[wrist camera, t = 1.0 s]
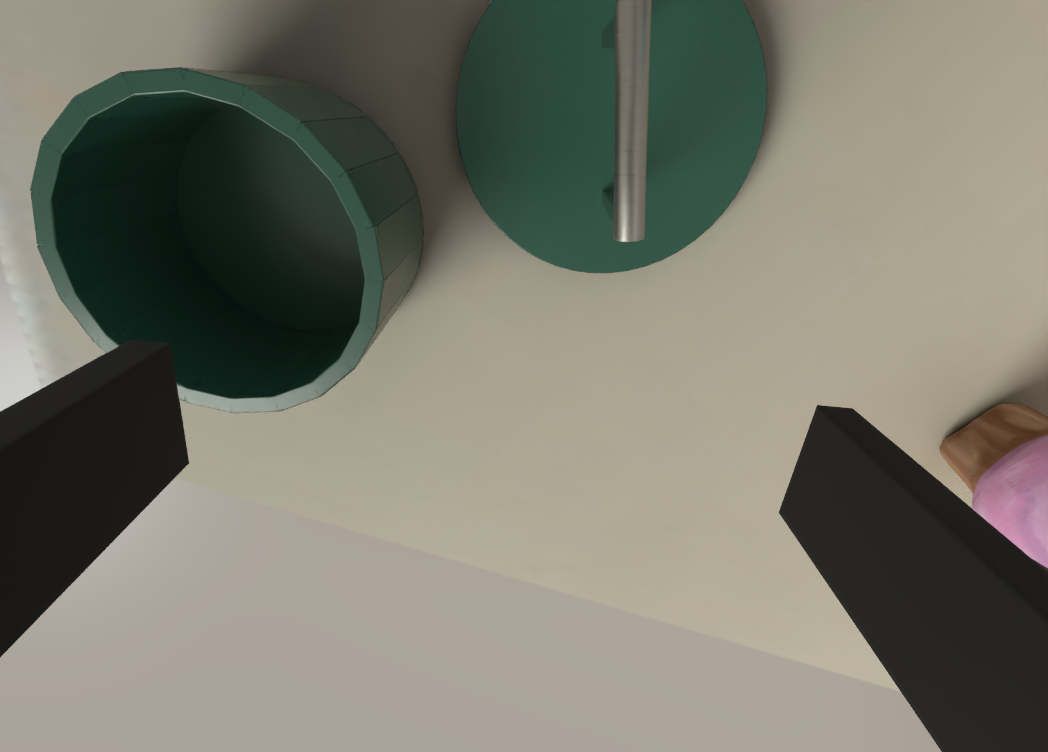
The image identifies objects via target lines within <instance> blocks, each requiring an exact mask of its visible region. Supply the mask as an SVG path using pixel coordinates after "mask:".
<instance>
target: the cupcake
mask: <svg viewBox="0 0 1048 752" xmlns="http://www.w3.org/2000/svg"><path fill="white" fill-rule="evenodd" d="M940 452H941V454H942V456H943V457H944V459H945V460H946V461H947V463H948V464H949V465H950V466H951V468H952V469H953V470H954V471H955V472H956V473H957V474H958V476H959V477H960V478H961V479H962V480H963V481H964V482H965V484H966V485H967V486H968V487H969V488H970V490H971V491H972V493H973V500H972V509H973V510H974V511H975V512H977V513H978V514H979V515H980V516H981V517H983V518H984V519H985V520H986V521H987V522H988V523H990V524H991V525H992V526H993V527H994V528H996V529H997V530H998V531H999V532H1000V533H1002V534H1003V535H1004V536H1005V537H1006V538H1008V539H1009V540H1010V541H1011V542H1012V543H1014V544H1015V545H1016V546H1017V547H1018V548H1020V549H1021V550H1022V551H1023V552H1024V553H1025V554H1027V555H1028V556H1029V557H1030V558H1032V559H1033V560H1035V561H1036V562H1038V563H1040V564H1041V565H1043V566H1045V567H1046V568H1048V417H1046V416H1045V415H1043V414H1041V413H1039V412H1037V411H1036V410H1034V409H1032V408H1029V407H1027V406H1024V405H1022V404H1014V403H1011V404H1000V405H997V406H995V407H993V408H992V409H990V410H988V411H987V412H985V413H984V414H983V415H981V416H980V417H978V418H976V419H975V420H973V421H972V422H971V423H970V424H968V425H967V426H965V427H964V428H962V429H961V430H959V431H957V432H956V433H954V434H952V435H950V436H949V437H947V438H946V439H945V440H944V441H943V442H942V444H941V446H940Z"/></svg>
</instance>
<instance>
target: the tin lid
mask: <svg viewBox="0 0 1048 752" xmlns="http://www.w3.org/2000/svg"><path fill="white" fill-rule="evenodd" d="M766 103H767V80H766V66H765V61H764V56H763V51H762V46H761V42H760V40H759V37H758V34H757V31H756V28H755V25H754V22H753V20H752V18H751V16H750V14H749V12H748V10H747V8H746V6H745V4H744V2H743V1H742V0H493V1H492V2H491V4H490V5H489V7H488V8H487V10H486V12H485V13H484V15H483V16H482V18H481V20H480V21H479V23H478V25H477V27H476V29H475V31H474V34H473V36H472V38H471V40H470V42H469V45H468V48H467V51H466V54H465V57H464V60H463V63H462V67H461V72H460V77H459V82H458V87H457V98H456V132H457V139H458V145H459V151H460V156H461V159H462V162H463V166H464V169H465V173H466V175H467V178H468V180H469V182H470V185H471V187H472V189H473V192H474V194H475V195H476V197H477V199H478V201H479V202H480V204H481V206H482V207H483V209H484V211H485V212H486V213H487V214H488V216H489V217H490V218H491V220H492V221H493V222H494V224H495V225H496V226H497V227H498V228H499V229H500V230H501V231H502V232H503V233H504V234H505V235H506V236H507V237H508V238H509V239H510V240H512V241H513V242H514V243H516V244H517V245H518V246H519V247H521V248H522V249H523V250H525V251H527V252H528V253H530V254H532V255H533V256H535V257H537V258H539V259H541V260H543V261H546V262H548V263H550V264H553V265H555V266H558V267H562V268H566V269H569V270H573V271H580V272H587V273H614V272H623V271H629V270H633V269H637V268H641V267H645V266H648V265H650V264H653V263H656V262H658V261H661V260H663V259H665V258H667V257H669V256H671V255H673V254H675V253H676V252H678V251H680V250H681V249H683V248H684V247H686V246H687V245H689V244H690V243H692V242H693V241H695V240H696V239H697V238H698V237H699V236H701V235H702V234H703V233H704V232H705V231H706V230H707V229H709V228H710V227H711V226H712V225H713V224H714V222H715V221H716V220H717V219H718V218H719V217H720V216H721V215H722V214H723V213H724V211H725V210H726V209H727V207H728V206H729V205H730V203H731V202H732V200H733V199H734V198H735V196H736V195H737V193H738V192H739V190H740V188H741V186H742V184H743V183H744V181H745V179H746V177H747V175H748V173H749V171H750V168H751V166H752V164H753V161H754V159H755V157H756V154H757V150H758V147H759V143H760V140H761V137H762V133H763V127H764V121H765V115H766Z"/></svg>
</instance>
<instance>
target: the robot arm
mask: <svg viewBox="0 0 1048 752" xmlns="http://www.w3.org/2000/svg"><path fill="white" fill-rule="evenodd" d="M188 464H189V461H188V454H187V447H186V441H185V434H184V428H183V421H182V415H181V408H180V402H179V395H178V389H177V382H176V376H175V369H174V363H173V356H172V349H171V344H168V343H157V342H146V341H136V340H129V341H127V342H126V343H124V344H122V345H120V346H118V347H117V348H115V349H113V350H111V351H109V352H108V353H106V354H104V355H102V356H100V357H98V358H97V359H95V360H93V361H91V362H89V363H88V364H86V365H84V366H82V367H80V368H79V369H77V370H75V371H73V372H71V373H70V374H68V375H66V376H64V377H62V378H61V379H59V380H57V381H55V382H53V383H51V384H50V385H48V386H46V387H44V388H42V389H41V390H39V391H37V392H35V393H33V394H32V395H30V396H28V397H26V398H24V399H23V400H21V401H19V402H17V403H16V404H14V405H12V406H10V407H8V408H6V409H4V410H3V411H1V412H0V657H1V656H2V655H3V654H4V653H5V652H6V651H7V650H8V648H10V647H11V646H12V645H13V644H14V643H15V641H16V640H17V639H18V638H19V637H20V636H21V635H22V634H23V633H24V632H25V631H26V630H27V629H28V628H29V627H30V626H31V625H32V624H33V623H34V622H35V621H36V620H37V619H38V618H39V617H40V616H41V615H42V614H43V613H44V612H45V611H46V610H47V609H48V608H49V606H50V605H51V604H52V603H53V602H54V601H55V600H56V599H57V598H58V597H59V596H60V595H61V594H62V593H63V592H64V591H65V590H66V589H67V588H68V587H69V586H70V585H71V584H72V583H73V582H74V581H75V580H76V579H77V578H78V577H79V576H80V575H81V573H83V572H84V571H85V569H86V568H87V567H88V566H89V565H90V564H91V563H92V562H93V561H94V560H95V559H96V558H97V557H98V556H99V555H100V554H101V553H102V552H103V551H104V550H105V549H106V547H108V546H109V545H110V543H112V542H113V541H114V540H115V538H117V536H118V535H120V533H121V532H122V531H123V530H124V529H125V528H126V527H127V526H128V525H129V524H130V523H131V522H132V521H133V520H134V519H135V518H136V517H137V516H138V515H139V514H140V513H141V512H142V511H143V510H144V509H145V508H146V507H147V506H148V505H149V503H151V502H152V501H153V499H154V498H155V497H156V496H157V495H158V494H159V493H160V492H161V491H162V490H163V489H164V488H165V487H166V486H167V485H168V484H169V483H170V482H171V481H172V480H173V479H174V478H175V477H176V476H177V475H178V474H179V473H180V472H181V471H182V470H183V469H184V468H185V467H186V466H187V465H188ZM779 513H780V515H781V516H782V518H783V519H784V521H785V522H786V524H787V525H788V527H789V528H790V529H791V531H792V532H793V534H794V535H795V537H796V538H797V540H798V541H799V543H800V544H801V546H802V547H803V549H804V550H805V551H806V553H807V554H808V556H809V557H810V559H811V560H812V562H813V563H814V565H815V566H816V568H817V569H818V571H819V572H820V574H821V575H822V576H823V578H824V579H825V581H826V582H827V584H828V585H829V587H830V588H831V590H832V591H833V593H834V594H835V596H836V597H837V598H838V600H839V601H840V603H841V604H842V606H843V607H844V609H845V610H846V612H847V613H848V615H849V616H850V618H851V619H852V620H853V622H854V623H855V625H856V626H857V628H858V629H859V631H860V632H861V634H862V635H863V637H864V638H865V640H866V641H867V642H868V644H869V645H870V647H871V648H872V650H873V651H874V653H875V654H876V656H877V657H878V659H879V660H880V662H881V663H882V664H883V666H884V667H885V669H886V670H887V672H888V673H889V675H890V676H891V678H892V679H893V681H894V682H895V684H896V685H897V686H898V688H899V689H900V691H901V692H902V694H903V695H904V697H905V698H906V700H907V701H908V702H909V704H910V705H911V707H912V708H913V710H914V711H915V713H916V714H917V716H918V717H919V718H920V720H921V721H922V723H923V724H924V726H925V728H926V729H927V730H928V732H929V733H930V735H931V736H932V738H933V739H934V741H935V742H936V744H937V745H938V747H939V748H940V750H941V751H942V752H1048V568H1046V567H1045V566H1043V565H1041V564H1040V563H1038V562H1036V561H1035V560H1033V559H1032V558H1030V557H1029V556H1028V555H1027V554H1025V553H1024V552H1023V551H1022V550H1021V549H1020V548H1018V547H1017V546H1016V545H1015V544H1014V543H1012V542H1011V541H1010V540H1009V539H1008V538H1006V537H1005V536H1004V535H1003V534H1002V533H1000V532H999V531H998V530H997V529H996V528H994V527H993V526H992V525H991V524H990V523H988V522H987V521H986V520H985V519H984V518H983V517H981V516H980V515H979V514H978V513H977V512H975V511H974V510H973V509H972V508H971V507H969V506H968V505H967V504H966V503H965V502H963V501H962V500H961V499H960V498H959V497H957V496H956V495H955V494H954V493H953V492H951V491H950V490H949V489H948V488H947V487H946V486H944V485H943V484H942V483H941V482H940V481H938V480H937V479H936V478H935V477H934V476H932V475H931V474H930V473H929V472H928V471H926V470H925V469H924V468H923V467H922V466H920V465H919V464H918V463H917V462H916V461H914V460H913V459H912V458H911V457H910V456H909V455H907V454H906V453H905V452H904V451H903V450H901V449H900V448H899V447H898V446H897V445H895V444H894V443H893V442H892V441H891V440H889V439H888V438H887V437H886V436H885V435H883V434H882V433H881V432H880V431H879V430H877V429H876V428H875V427H874V426H873V425H871V424H870V423H869V422H868V421H867V420H866V419H864V418H863V417H862V416H861V415H860V414H858V413H857V412H856V411H855V410H854V409H851V408H841V407H830V406H820V405H817V407H816V410H815V413H814V416H813V419H812V421H811V424H810V427H809V430H808V433H807V435H806V438H805V441H804V444H803V447H802V449H801V452H800V455H799V458H798V461H797V463H796V466H795V469H794V472H793V474H792V477H791V480H790V483H789V486H788V488H787V491H786V494H785V497H784V500H783V502H782V505H781V508H780V511H779Z"/></svg>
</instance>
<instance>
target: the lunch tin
mask: <svg viewBox="0 0 1048 752" xmlns="http://www.w3.org/2000/svg"><path fill="white" fill-rule="evenodd" d="M30 191H31V199H32V207H33V215H34V223H35V231H36V238H37V244H38V246H37V247H38V250H39V252H40V254H41V257H42V259H43V261H44V263H45V266H46V268H47V270H48V273H49V275H50V277H51V279H52V282H53V284H54V286H55V289H56V291H57V293H58V295H59V297H60V299H61V300H62V302H63V303H64V304H65V305H66V307H67V308H68V309H69V311H70V312H71V313H72V314H73V316H74V317H75V318H76V320H77V321H78V322H79V323H80V325H81V326H82V327H83V329H84V330H85V331H86V333H87V334H88V335H89V336H90V338H91V339H92V340H93V342H96V344H97V345H98V346H99V347H100V348H102V349H103V350H104V351H105V352H106V353H108V352H109V351H111V350H113V349H115V348H117V347H118V346H120V345H122V344H124V343H126V342H127V341H129V340H136V341H146V342H157V343H168V344H171V349H172V356H173V363H174V369H175V376H176V382H177V389H178V395H179V399H181V400H183V401H185V402H188V403H192V404H196V405H201V406H205V407H209V408H214V409H218V410H222V411H227V412H231V413H248V412H273V411H282V410H285V409H288V408H291V407H293V406H296V405H299V404H302V403H304V402H307V401H310V400H313V399H315V398H318V397H321V396H322V395H324V394H325V393H326V392H327V391H329V390H330V389H331V388H332V387H333V386H335V385H336V384H337V383H338V382H339V381H341V380H342V379H343V378H344V377H345V376H347V375H348V374H349V373H350V372H351V371H353V370H354V369H355V368H356V366H357V365H358V364H359V362H360V361H361V359H362V358H363V357H364V355H365V354H366V352H367V351H368V349H369V348H370V347H371V345H372V344H373V342H374V341H375V340H376V338H377V337H378V335H379V334H380V332H381V331H382V330H383V328H384V327H385V325H386V324H387V322H388V321H389V320H390V318H391V317H392V315H393V314H394V313H395V311H396V310H397V308H398V307H399V305H400V304H401V302H402V300H403V298H404V296H405V295H406V293H407V292H408V290H409V288H410V286H411V284H412V282H413V281H414V279H415V277H416V274H417V269H418V266H419V263H420V258H421V253H422V246H423V220H422V212H421V207H420V202H419V197H418V194H417V191H416V188H415V185H414V182H413V179H412V177H411V175H410V173H409V171H408V169H407V166H406V164H405V162H404V161H403V159H402V158H401V156H400V154H399V153H398V151H397V149H396V148H395V146H394V145H393V144H392V143H391V141H390V140H389V139H388V137H387V136H386V135H385V134H384V132H383V131H382V130H381V129H380V128H379V127H378V126H377V125H376V124H375V123H374V122H373V121H372V120H371V119H370V118H369V117H367V116H366V115H365V114H364V113H362V112H361V111H360V110H359V109H357V108H356V107H355V106H353V105H352V104H350V103H349V102H347V101H345V100H344V99H342V98H340V97H339V96H337V95H335V94H333V93H331V92H329V91H328V90H325V89H322V88H319V87H316V86H313V85H310V84H306V83H303V82H299V81H294V80H290V79H287V78H283V77H274V76H264V75H254V74H244V73H234V72H223V71H213V70H203V69H193V68H182V67H178V68H165V69H151V70H138V71H125V72H120V73H118V74H116V75H115V76H113V77H111V78H109V79H107V80H105V81H103V82H101V83H99V84H97V85H95V86H94V87H92V88H90V89H88V90H86V91H84V92H82V93H80V94H78V95H76V96H75V97H74V98H73V99H72V100H71V101H70V103H69V104H68V105H67V107H66V108H65V109H64V111H63V112H62V113H61V115H60V116H59V117H58V119H57V120H56V121H55V123H54V124H53V125H52V127H51V128H50V129H49V131H48V132H47V133H46V135H45V136H44V137H43V140H42V141H41V145H40V149H39V154H38V158H37V162H36V167H35V171H34V175H33V180H32V184H31V189H30Z"/></svg>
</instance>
